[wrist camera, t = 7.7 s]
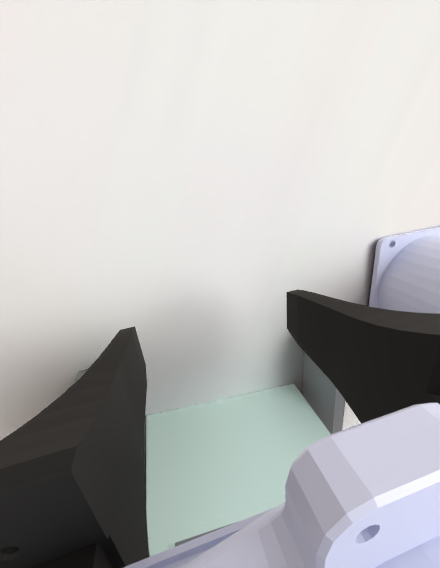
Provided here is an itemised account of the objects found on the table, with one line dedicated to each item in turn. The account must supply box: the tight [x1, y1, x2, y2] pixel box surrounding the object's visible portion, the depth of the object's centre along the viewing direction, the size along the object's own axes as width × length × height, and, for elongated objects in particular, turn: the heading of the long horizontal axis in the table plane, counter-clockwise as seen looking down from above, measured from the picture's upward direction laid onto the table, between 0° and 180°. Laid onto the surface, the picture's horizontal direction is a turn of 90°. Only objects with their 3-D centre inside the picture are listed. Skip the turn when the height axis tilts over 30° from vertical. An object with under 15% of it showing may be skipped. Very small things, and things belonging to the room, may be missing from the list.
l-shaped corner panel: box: [146, 384, 331, 557], centre depth 19 cm, size 12×12×8 cm
